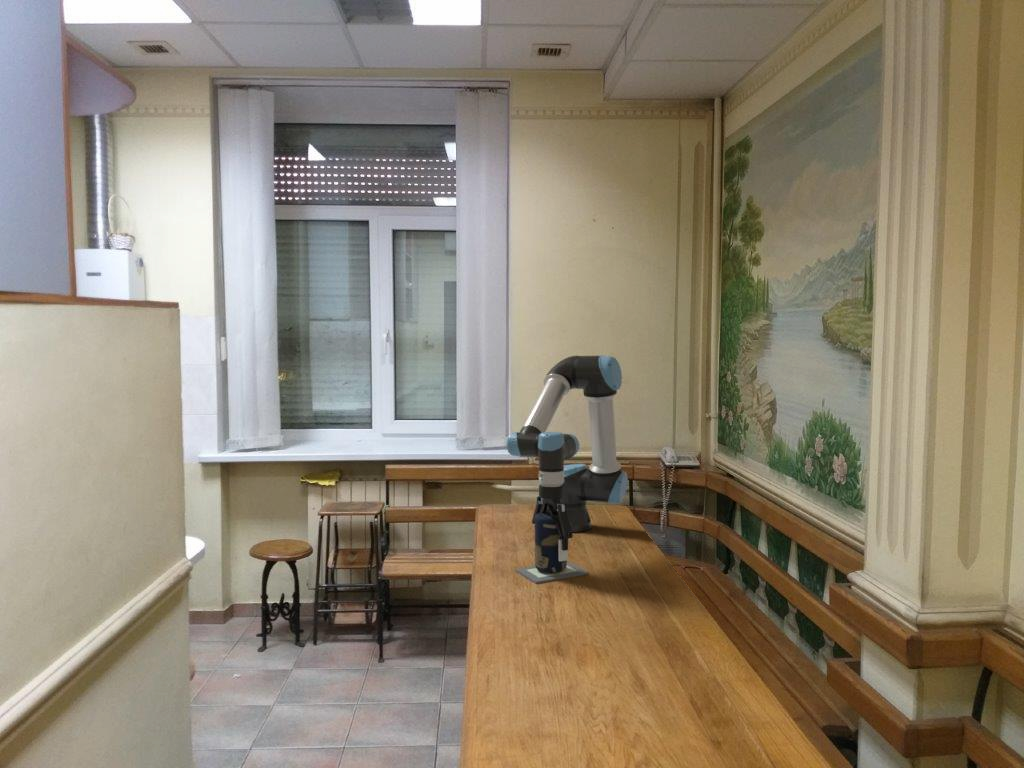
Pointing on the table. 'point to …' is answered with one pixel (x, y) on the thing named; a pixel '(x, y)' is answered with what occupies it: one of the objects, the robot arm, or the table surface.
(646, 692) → the table surface
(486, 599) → the table surface
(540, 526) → the canister
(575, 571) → the mat
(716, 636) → the table surface
